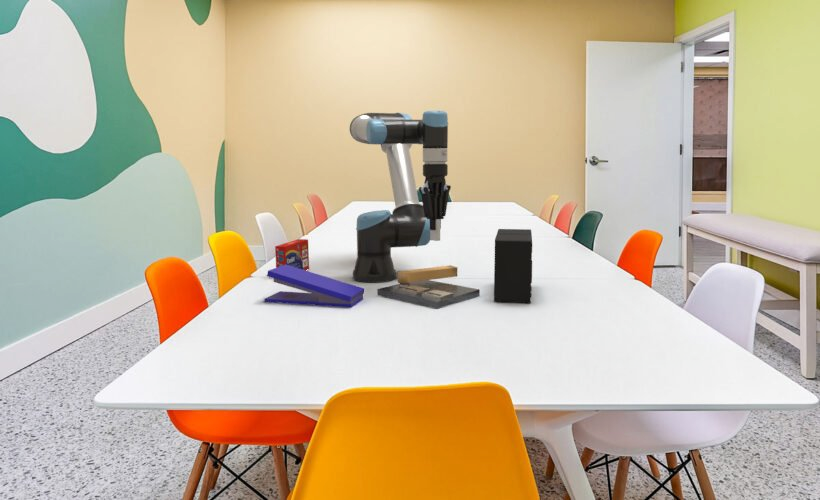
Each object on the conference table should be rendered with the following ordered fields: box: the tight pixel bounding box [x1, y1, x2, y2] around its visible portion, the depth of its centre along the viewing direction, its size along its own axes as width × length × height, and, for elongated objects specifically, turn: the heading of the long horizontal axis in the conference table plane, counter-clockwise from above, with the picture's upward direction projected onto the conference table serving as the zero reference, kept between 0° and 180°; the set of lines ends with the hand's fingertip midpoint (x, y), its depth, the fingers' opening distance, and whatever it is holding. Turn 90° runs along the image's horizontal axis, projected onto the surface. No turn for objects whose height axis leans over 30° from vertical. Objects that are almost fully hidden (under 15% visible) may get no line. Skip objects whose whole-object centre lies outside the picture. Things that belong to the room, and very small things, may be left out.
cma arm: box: [397, 265, 458, 284], centre depth 187 cm, size 20×4×3 cm, turn 119°
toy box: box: [274, 238, 310, 271], centre depth 212 cm, size 18×4×12 cm, turn 164°
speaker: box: [493, 228, 533, 304], centre depth 180 cm, size 25×11×19 cm, turn 169°
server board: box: [376, 280, 481, 310], centre depth 178 cm, size 24×20×3 cm
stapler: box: [263, 265, 365, 308], centre depth 173 cm, size 12×28×10 cm, turn 75°
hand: (435, 240), depth 181 cm, fingers closed
